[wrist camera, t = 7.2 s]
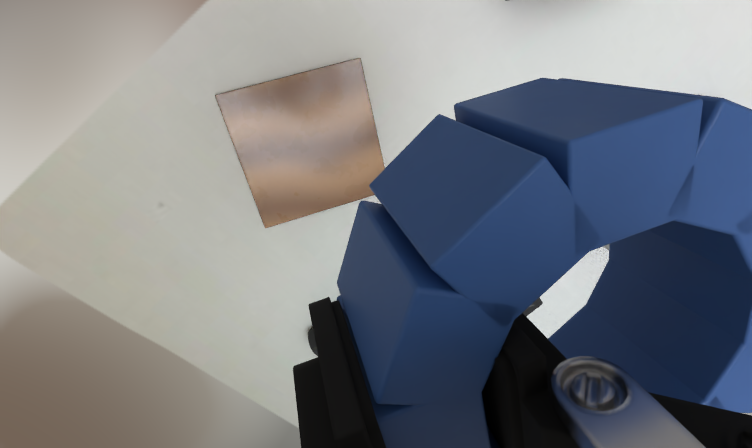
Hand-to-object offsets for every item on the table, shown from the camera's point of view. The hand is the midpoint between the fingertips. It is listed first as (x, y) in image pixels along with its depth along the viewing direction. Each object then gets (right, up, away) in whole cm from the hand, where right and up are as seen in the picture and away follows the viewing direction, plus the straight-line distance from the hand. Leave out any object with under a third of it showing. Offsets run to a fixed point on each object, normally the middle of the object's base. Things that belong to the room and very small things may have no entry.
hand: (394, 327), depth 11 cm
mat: (-6, +9, +26) cm, 28 cm away
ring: (+4, +1, +1) cm, 4 cm away
